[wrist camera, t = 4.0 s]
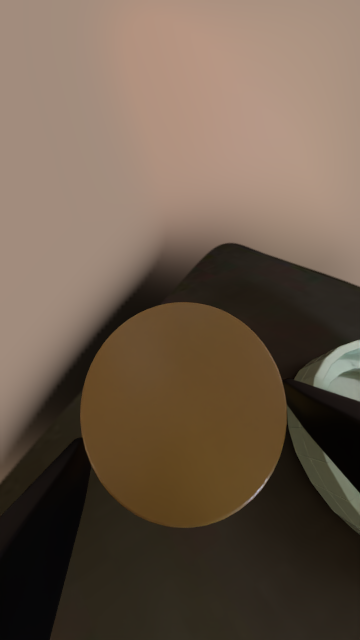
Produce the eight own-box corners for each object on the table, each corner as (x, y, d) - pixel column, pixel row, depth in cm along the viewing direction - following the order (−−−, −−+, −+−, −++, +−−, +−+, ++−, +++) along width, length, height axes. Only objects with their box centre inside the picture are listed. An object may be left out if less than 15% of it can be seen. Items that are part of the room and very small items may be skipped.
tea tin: (205, 465, 14) (252, 616, 3) (142, 424, 16) (33, 434, 5) (231, 392, 16) (306, 340, 6) (174, 364, 18) (149, 281, 7)
